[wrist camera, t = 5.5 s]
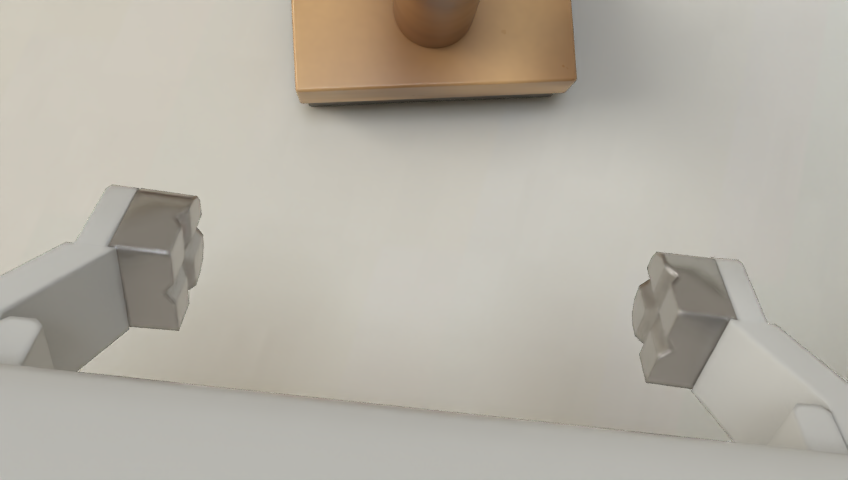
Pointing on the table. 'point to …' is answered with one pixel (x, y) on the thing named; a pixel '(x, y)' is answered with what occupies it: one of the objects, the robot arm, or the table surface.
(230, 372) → the table surface
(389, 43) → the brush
